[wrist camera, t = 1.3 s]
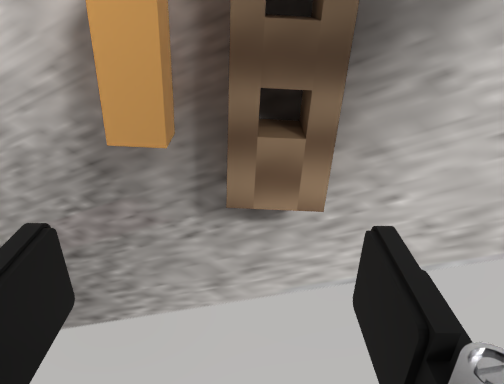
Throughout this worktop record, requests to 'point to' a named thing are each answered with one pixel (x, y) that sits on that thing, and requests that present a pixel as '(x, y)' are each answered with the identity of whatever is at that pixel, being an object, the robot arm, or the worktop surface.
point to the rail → (285, 77)
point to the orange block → (133, 70)
